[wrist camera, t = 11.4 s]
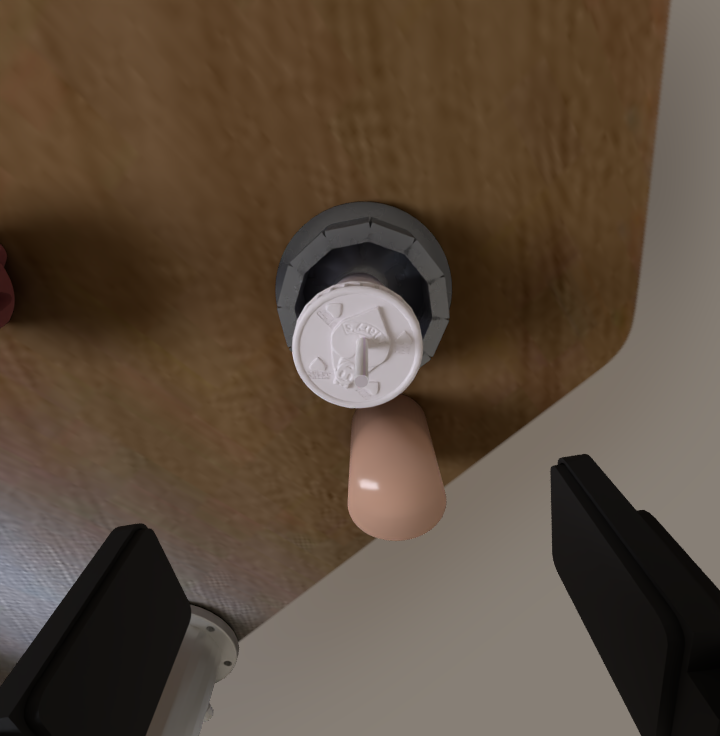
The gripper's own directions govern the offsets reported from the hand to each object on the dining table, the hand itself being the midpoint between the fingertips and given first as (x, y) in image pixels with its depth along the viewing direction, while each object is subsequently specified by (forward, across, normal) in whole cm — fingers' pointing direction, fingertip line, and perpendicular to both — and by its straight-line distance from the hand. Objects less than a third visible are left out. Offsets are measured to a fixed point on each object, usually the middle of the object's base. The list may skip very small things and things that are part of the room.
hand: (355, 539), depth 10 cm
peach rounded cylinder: (+22, 0, +10) cm, 24 cm away
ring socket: (+22, 0, -1) cm, 22 cm away
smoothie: (+21, 0, 0) cm, 21 cm away
